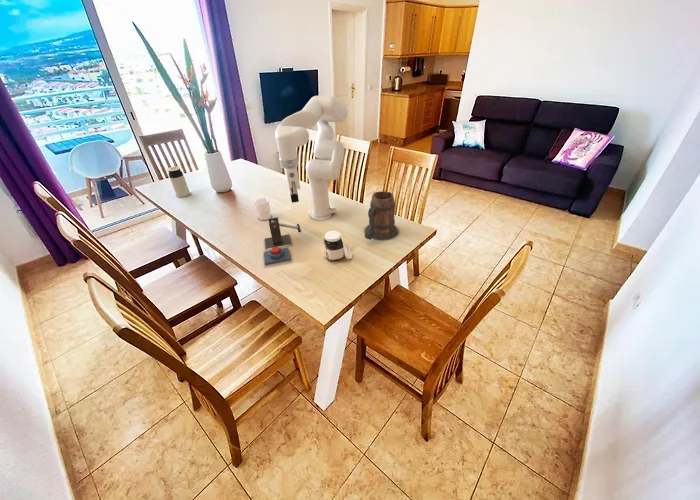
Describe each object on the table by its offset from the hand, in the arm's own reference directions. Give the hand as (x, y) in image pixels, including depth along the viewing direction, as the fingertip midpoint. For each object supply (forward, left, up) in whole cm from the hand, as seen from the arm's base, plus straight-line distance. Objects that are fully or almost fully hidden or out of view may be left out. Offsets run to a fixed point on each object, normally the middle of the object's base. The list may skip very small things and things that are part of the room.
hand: (295, 201), depth 136 cm
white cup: (+23, -24, -21) cm, 39 cm away
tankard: (-39, -2, -21) cm, 44 cm away
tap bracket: (+11, +3, -21) cm, 23 cm away
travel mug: (+84, -59, -21) cm, 105 cm away
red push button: (+9, +16, -17) cm, 25 cm away
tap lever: (+6, +2, -13) cm, 14 cm away
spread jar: (-19, +16, -21) cm, 32 cm away
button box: (+9, +16, -21) cm, 27 cm away
